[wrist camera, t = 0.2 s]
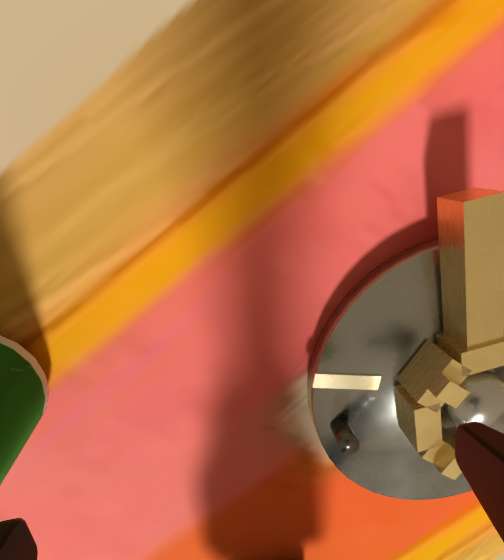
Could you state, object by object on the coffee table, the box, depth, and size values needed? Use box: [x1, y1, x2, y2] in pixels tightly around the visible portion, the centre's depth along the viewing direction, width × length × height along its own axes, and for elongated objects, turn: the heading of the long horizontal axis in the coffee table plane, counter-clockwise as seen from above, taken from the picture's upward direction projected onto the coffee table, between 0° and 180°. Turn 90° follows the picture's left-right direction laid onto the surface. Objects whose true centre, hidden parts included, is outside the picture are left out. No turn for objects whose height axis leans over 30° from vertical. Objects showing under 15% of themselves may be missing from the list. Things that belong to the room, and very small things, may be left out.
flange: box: [308, 238, 504, 500], centre depth 24 cm, size 20×20×4 cm
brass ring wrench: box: [394, 188, 504, 480], centre depth 22 cm, size 18×9×3 cm, turn 13°
